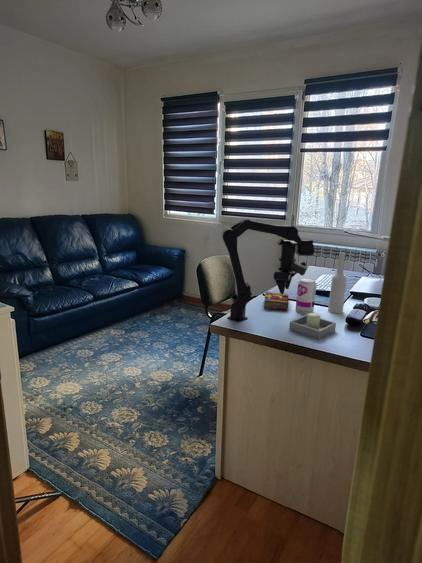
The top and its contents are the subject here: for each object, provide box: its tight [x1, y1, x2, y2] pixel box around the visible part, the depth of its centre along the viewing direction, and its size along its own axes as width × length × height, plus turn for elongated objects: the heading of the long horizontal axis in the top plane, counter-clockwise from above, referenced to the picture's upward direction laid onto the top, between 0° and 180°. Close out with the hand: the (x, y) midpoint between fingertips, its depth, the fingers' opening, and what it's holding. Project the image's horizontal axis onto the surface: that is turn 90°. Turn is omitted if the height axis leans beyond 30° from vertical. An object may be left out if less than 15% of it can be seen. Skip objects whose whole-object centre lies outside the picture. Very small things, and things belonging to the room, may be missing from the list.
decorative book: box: [263, 291, 290, 311], centre depth 175 cm, size 11×16×5 cm
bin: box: [288, 314, 337, 340], centre depth 144 cm, size 13×13×4 cm
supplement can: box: [295, 277, 317, 314], centre depth 167 cm, size 8×8×15 cm
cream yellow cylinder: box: [306, 312, 321, 330], centre depth 144 cm, size 5×5×6 cm
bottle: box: [327, 251, 347, 315], centre depth 166 cm, size 7×7×28 cm
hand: (284, 291), depth 154 cm, fingers open, 9 cm apart
